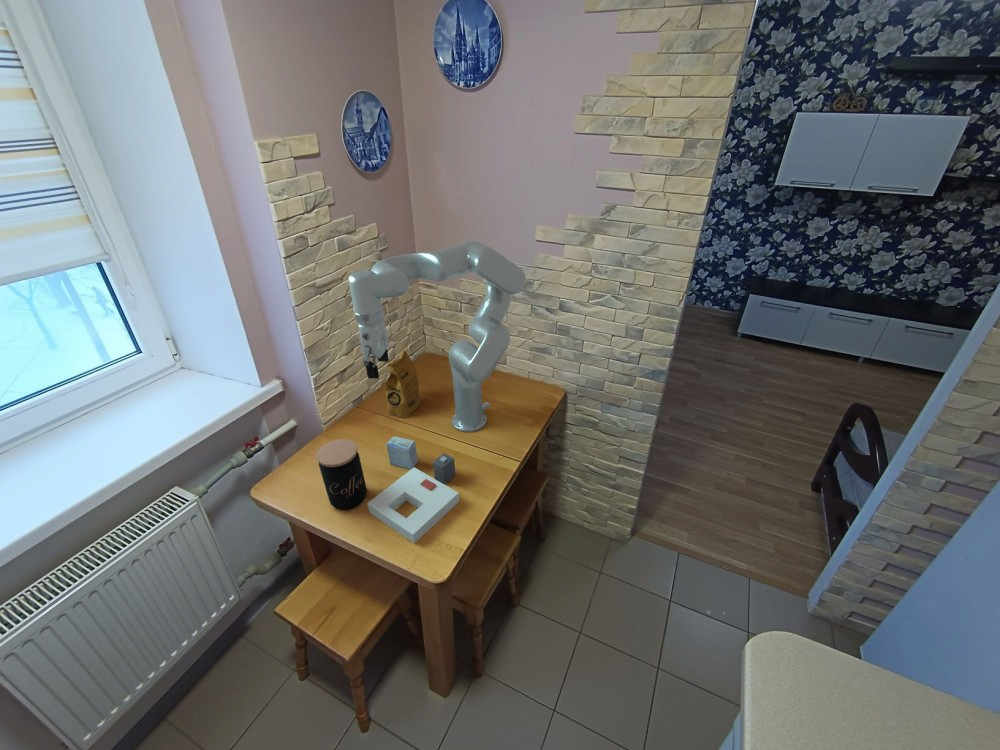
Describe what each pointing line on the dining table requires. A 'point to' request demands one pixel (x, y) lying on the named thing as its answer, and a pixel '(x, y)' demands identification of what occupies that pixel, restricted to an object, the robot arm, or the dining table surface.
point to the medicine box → (402, 452)
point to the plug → (444, 468)
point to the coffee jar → (342, 474)
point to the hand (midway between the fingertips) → (378, 369)
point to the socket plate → (414, 503)
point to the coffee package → (402, 387)
